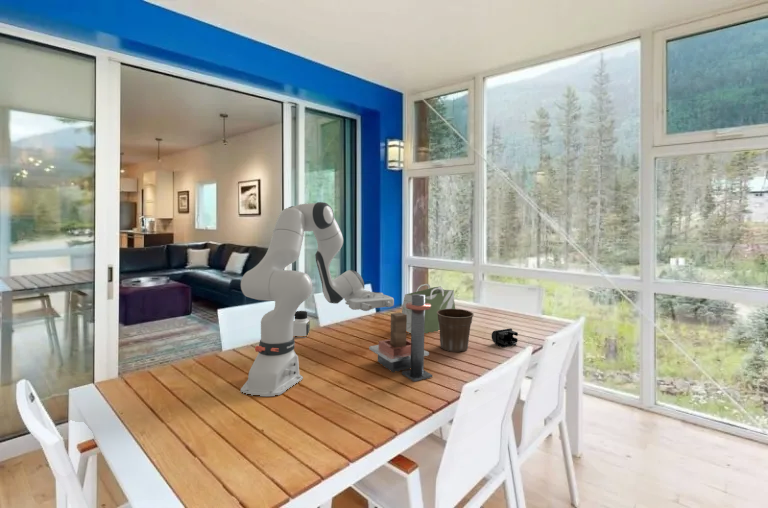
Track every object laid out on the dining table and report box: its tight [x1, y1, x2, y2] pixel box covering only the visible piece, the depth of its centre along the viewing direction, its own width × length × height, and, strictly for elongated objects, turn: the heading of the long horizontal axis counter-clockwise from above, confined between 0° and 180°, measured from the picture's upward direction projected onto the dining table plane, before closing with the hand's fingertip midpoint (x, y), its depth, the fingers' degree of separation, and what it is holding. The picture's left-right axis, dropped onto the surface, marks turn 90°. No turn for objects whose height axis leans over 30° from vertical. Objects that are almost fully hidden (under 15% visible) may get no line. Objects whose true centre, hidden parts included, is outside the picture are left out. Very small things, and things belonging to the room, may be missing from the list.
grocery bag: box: [401, 283, 456, 334], centre depth 212 cm, size 32×14×23 cm, turn 130°
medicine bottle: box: [293, 310, 311, 337], centre depth 196 cm, size 7×7×12 cm
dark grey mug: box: [491, 328, 519, 348], centre depth 186 cm, size 10×7×7 cm
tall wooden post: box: [389, 312, 407, 348], centre depth 157 cm, size 4×4×14 cm
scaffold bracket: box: [368, 294, 433, 382], centre depth 153 cm, size 26×17×30 cm, turn 30°
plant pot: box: [437, 308, 474, 353], centre depth 179 cm, size 16×16×16 cm
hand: (379, 306), depth 168 cm, fingers open, 8 cm apart
